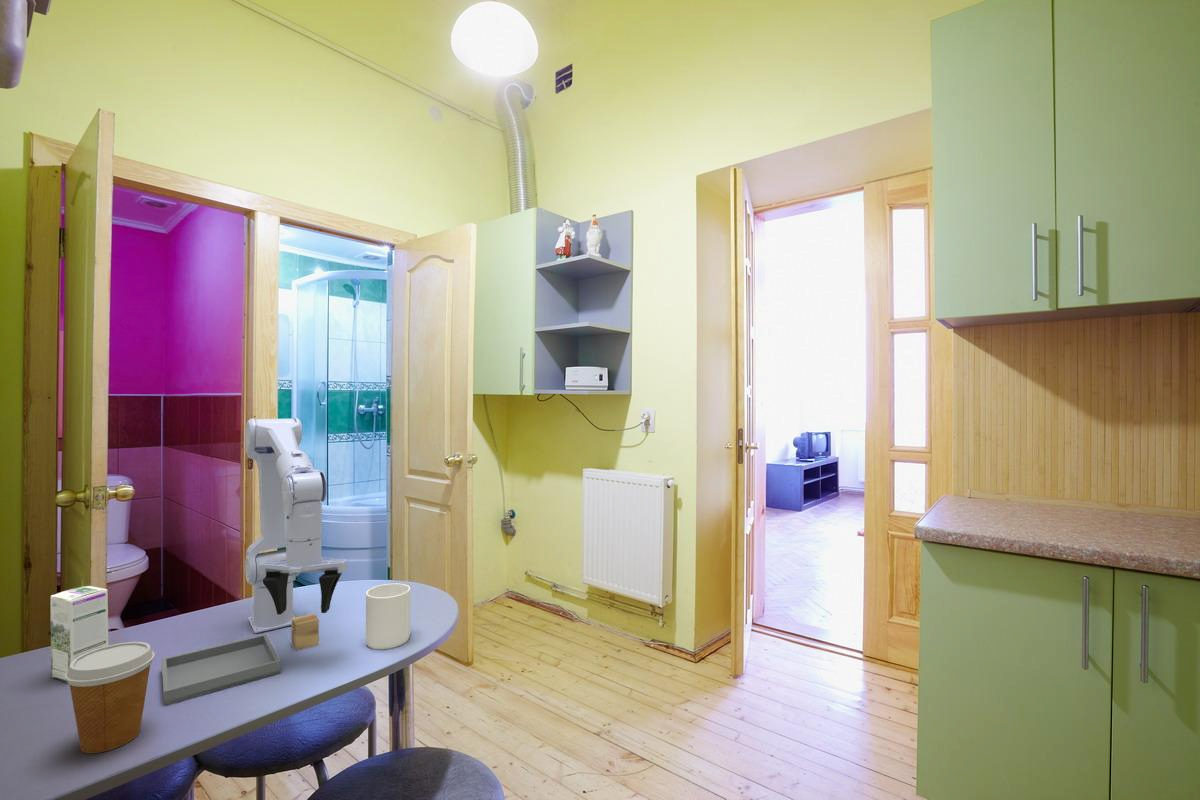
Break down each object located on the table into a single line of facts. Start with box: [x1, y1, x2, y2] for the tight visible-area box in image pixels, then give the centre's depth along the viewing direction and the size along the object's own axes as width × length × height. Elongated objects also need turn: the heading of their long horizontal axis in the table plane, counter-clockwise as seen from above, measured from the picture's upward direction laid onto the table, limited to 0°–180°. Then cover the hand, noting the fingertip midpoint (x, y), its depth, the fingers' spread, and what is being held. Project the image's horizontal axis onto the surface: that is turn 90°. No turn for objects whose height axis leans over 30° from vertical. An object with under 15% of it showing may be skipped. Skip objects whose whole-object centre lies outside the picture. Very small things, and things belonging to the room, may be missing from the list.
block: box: [291, 613, 320, 651], centre depth 108 cm, size 4×4×5 cm
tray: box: [161, 633, 281, 706], centre depth 96 cm, size 14×16×2 cm
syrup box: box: [50, 585, 109, 683], centre depth 96 cm, size 6×6×14 cm
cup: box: [365, 582, 411, 650], centre depth 111 cm, size 8×12×10 cm
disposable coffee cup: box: [64, 641, 156, 754], centre depth 77 cm, size 10×10×12 cm
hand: (303, 611), depth 100 cm, fingers open, 7 cm apart
